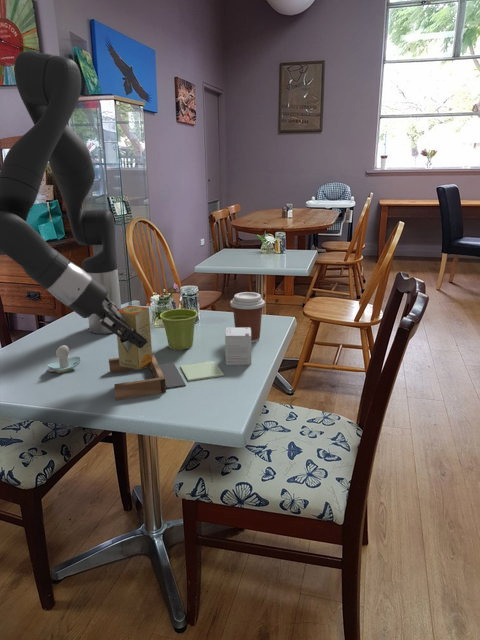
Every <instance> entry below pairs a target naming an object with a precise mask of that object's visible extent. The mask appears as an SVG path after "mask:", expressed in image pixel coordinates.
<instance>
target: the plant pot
mask: <svg viewBox="0 0 480 640" xmlns="http://www.w3.org/2000/svg"><path fill="white" fill-rule="evenodd" d="M198 313H199V312H198V311H197V310H194V309H188V308H174V309H169V310H166V311H162V312H161V313H160V315H159V318H160V319H161V320H162V323H163V326H164V331H165V336H166V340H167V344H168V347H169V349H171V350H174V351H183V350H185V349H190V348H192V347H193V344H194V335H195V334H194V333H195V322H196V320H197V316H198V315H199V314H198Z"/></svg>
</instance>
